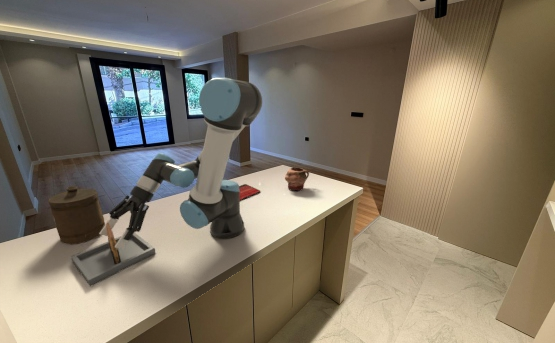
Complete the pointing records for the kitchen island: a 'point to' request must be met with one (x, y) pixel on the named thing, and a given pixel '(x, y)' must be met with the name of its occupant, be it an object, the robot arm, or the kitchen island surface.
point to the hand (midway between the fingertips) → (110, 241)
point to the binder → (247, 191)
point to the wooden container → (77, 215)
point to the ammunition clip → (113, 245)
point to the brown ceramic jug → (296, 178)
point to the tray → (110, 259)
